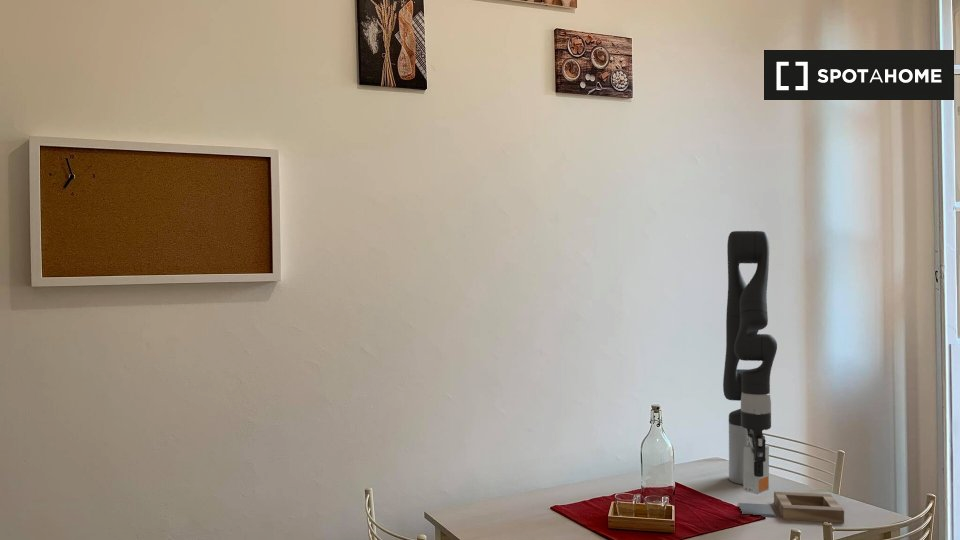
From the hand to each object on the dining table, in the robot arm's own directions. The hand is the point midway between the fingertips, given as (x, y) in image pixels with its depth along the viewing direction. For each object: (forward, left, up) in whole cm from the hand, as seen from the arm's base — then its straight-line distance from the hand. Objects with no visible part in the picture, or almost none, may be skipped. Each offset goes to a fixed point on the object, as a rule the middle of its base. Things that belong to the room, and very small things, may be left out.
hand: (756, 472), depth 202 cm
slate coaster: (0, 0, -10) cm, 10 cm away
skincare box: (0, 0, -5) cm, 5 cm away
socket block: (-1, +13, -10) cm, 17 cm away
